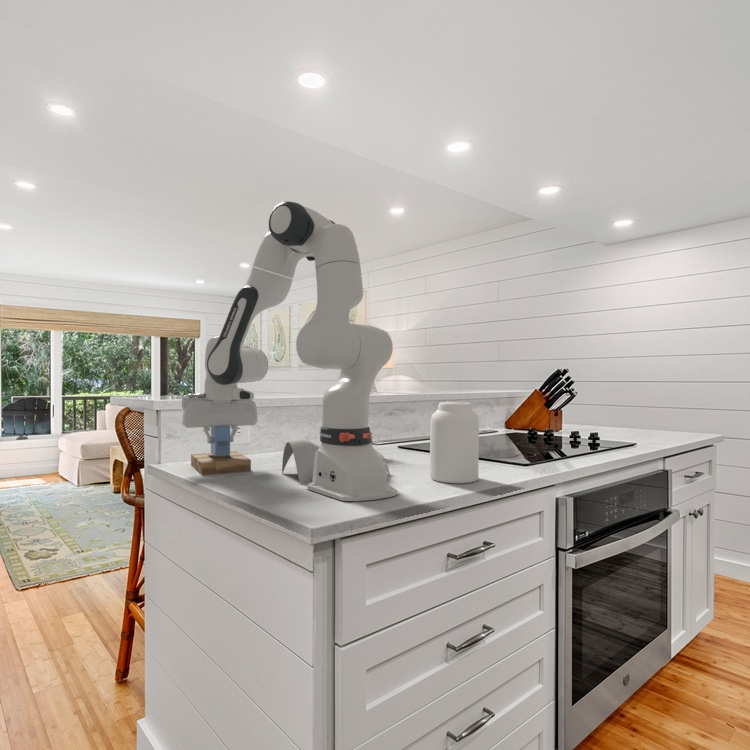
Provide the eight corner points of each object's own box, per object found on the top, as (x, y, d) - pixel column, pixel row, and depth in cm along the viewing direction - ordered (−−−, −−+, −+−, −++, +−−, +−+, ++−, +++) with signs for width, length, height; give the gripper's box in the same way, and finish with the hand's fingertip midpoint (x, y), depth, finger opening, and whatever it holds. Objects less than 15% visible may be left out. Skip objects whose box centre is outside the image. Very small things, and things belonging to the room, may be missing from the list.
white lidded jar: (440, 485, 126) (442, 403, 126) (422, 475, 138) (423, 400, 138) (487, 483, 129) (488, 403, 129) (465, 473, 141) (466, 400, 141)
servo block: (231, 456, 142) (231, 427, 142) (216, 457, 140) (216, 427, 140) (223, 451, 150) (224, 423, 150) (209, 452, 148) (210, 424, 148)
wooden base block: (250, 470, 141) (250, 459, 141) (201, 474, 135) (201, 463, 135) (236, 461, 155) (236, 451, 155) (191, 464, 149) (191, 454, 149)
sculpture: (360, 465, 152) (360, 432, 152) (392, 477, 136) (392, 440, 136) (278, 472, 140) (278, 437, 140) (302, 486, 124) (302, 446, 124)
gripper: (183, 394, 137) (183, 446, 137) (259, 393, 147) (258, 441, 147) (180, 393, 143) (179, 443, 143) (253, 392, 152) (252, 439, 153)
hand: (220, 442), depth 145 cm, fingers closed on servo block, 4 cm apart
